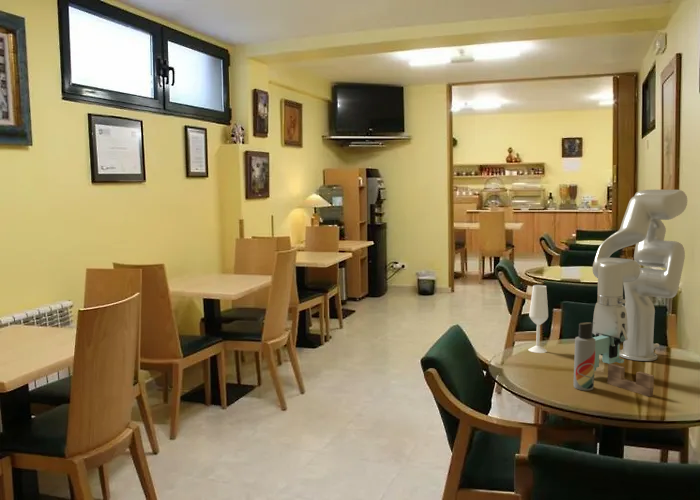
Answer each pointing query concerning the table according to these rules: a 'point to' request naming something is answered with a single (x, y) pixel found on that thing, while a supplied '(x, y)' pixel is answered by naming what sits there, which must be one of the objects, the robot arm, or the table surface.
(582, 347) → the lotion bottle
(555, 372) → the table surface
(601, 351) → the teal notched bracket
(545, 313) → the champagne flute
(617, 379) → the brown u-shaped block
